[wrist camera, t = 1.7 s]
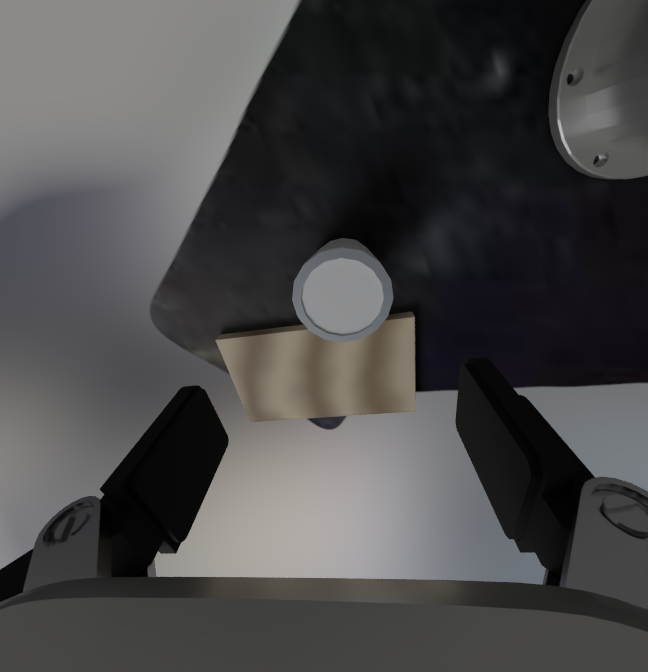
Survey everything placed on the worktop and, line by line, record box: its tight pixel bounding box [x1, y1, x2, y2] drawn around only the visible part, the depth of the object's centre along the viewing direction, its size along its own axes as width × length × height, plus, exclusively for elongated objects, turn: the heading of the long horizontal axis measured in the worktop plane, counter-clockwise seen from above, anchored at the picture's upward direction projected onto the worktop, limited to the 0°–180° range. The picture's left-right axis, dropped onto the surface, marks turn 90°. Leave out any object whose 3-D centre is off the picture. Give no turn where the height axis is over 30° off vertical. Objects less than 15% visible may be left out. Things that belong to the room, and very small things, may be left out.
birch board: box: [216, 312, 415, 422], centre depth 30 cm, size 20×12×1 cm, turn 100°
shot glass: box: [292, 238, 393, 343], centre depth 21 cm, size 7×7×7 cm
